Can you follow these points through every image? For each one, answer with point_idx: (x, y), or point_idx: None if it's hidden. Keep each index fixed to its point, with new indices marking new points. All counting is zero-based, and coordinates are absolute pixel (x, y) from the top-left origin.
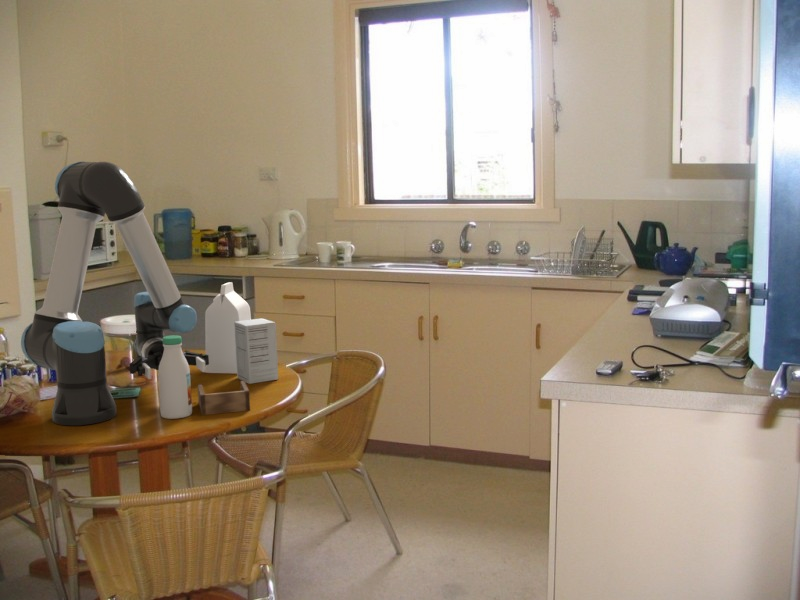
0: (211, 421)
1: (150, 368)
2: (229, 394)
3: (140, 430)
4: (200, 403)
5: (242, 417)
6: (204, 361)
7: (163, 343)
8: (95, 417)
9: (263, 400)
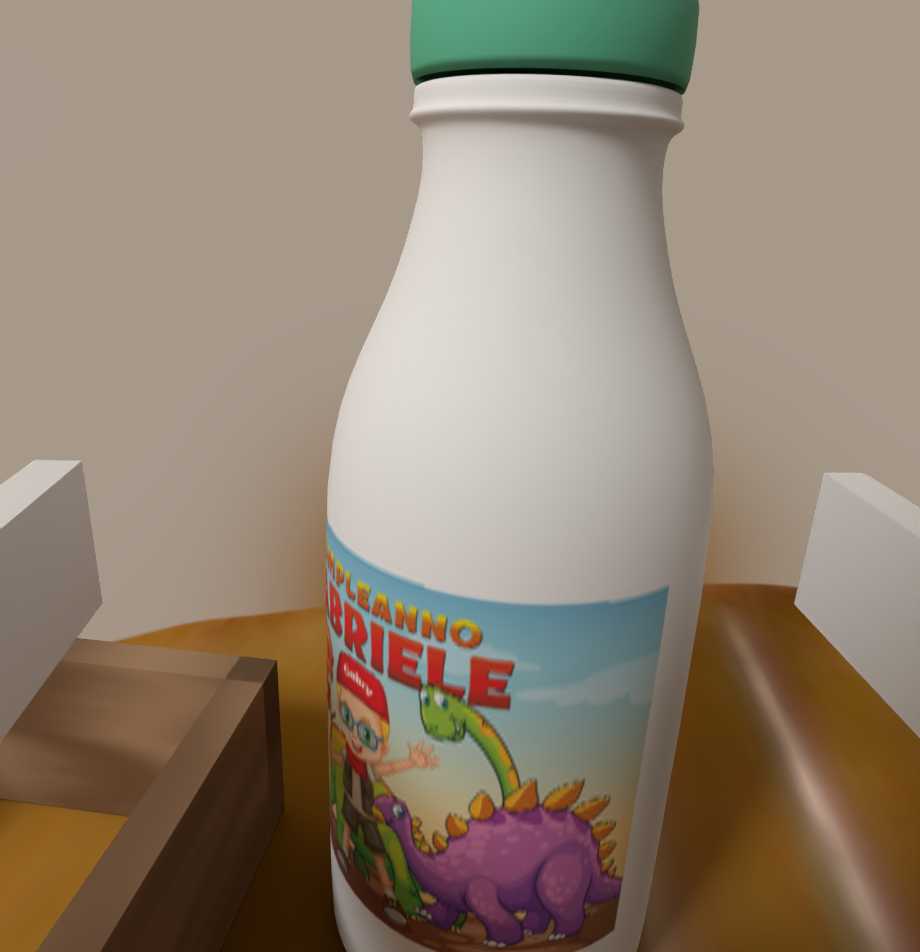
0: (293, 671)
1: (826, 475)
2: None
3: (746, 693)
4: (242, 823)
5: None
6: (35, 465)
7: (670, 87)
8: None
9: None
